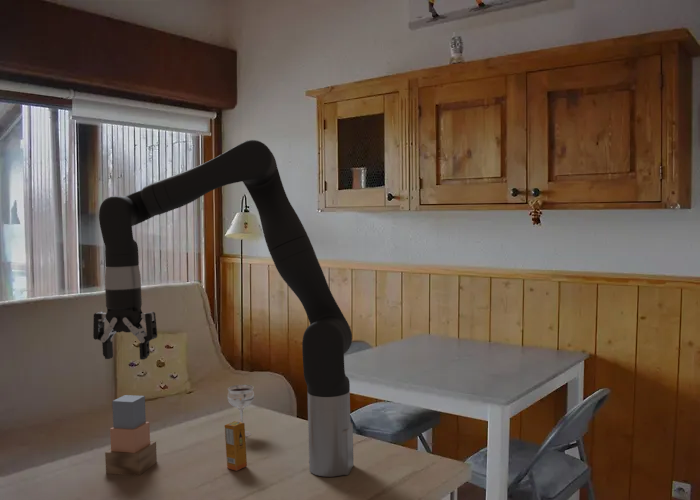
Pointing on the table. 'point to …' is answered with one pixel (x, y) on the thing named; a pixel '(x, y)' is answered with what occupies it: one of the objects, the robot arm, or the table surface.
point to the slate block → (129, 412)
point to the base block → (131, 460)
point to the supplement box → (235, 445)
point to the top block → (130, 438)
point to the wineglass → (241, 399)
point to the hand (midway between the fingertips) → (126, 358)
